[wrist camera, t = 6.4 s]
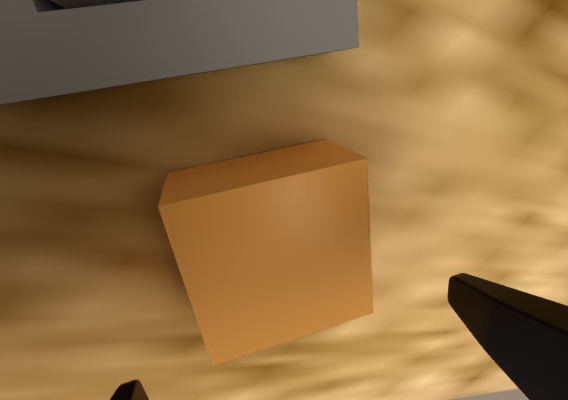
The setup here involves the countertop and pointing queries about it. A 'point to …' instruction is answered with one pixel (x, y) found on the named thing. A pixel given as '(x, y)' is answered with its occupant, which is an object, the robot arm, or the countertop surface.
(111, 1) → the breaker button
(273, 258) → the cap
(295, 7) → the panel
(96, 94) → the countertop surface
